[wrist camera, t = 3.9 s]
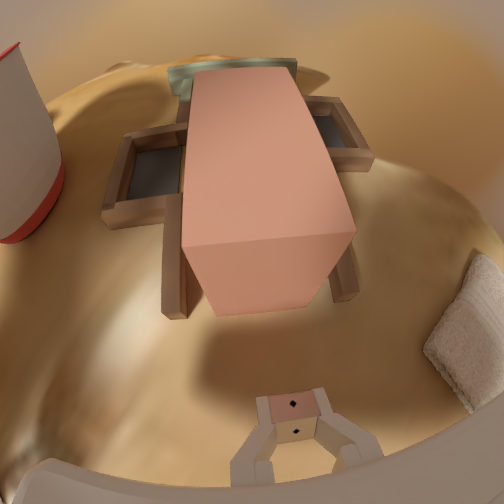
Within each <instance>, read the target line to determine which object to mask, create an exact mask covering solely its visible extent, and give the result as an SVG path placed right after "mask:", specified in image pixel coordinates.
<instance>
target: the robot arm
mask: <svg viewBox="0 0 504 504" xmlns="http://www.w3.org/2000/svg"><path fill="white" fill-rule="evenodd" d="M256 405H257V414H258V422H259V426H255V428H254V429H253V431H252V432H251V433H250V435H249V436H248V438H247V439H246V441H245V442H244V444H243V445H242V446H241V448H240V449H239V451H238V452H237V453H236V455H235V456H234V458H233V459H232V460H231V462H230V478H231V487H189V486H175V485H165V484H156V483H149V482H142V481H136V480H130V479H125V478H120V477H116V476H111V475H107V474H103V473H99V472H95V471H92V470H88V469H85V468H81V467H78V466H75V465H72V464H69V463H66V462H63V461H61V460H58V459H55V458H49V459H46V460H44V461H42V462H40V463H38V464H37V465H35V466H33V467H32V468H30V469H29V470H28V471H27V472H26V473H25V475H24V476H23V478H22V480H21V482H20V484H19V487H18V489H17V491H16V494H15V497H14V499H13V502H12V504H504V391H503V392H501V393H500V394H499V395H497V396H496V397H495V398H493V399H492V400H491V401H489V402H488V403H486V404H485V405H483V406H482V407H481V408H479V409H478V410H476V411H475V412H473V413H471V414H470V415H468V416H467V417H465V418H463V419H462V420H460V421H459V422H457V423H455V424H453V425H452V426H450V427H448V428H446V429H444V430H443V431H441V432H439V433H437V434H435V435H433V436H431V437H429V438H427V439H425V440H423V441H421V442H419V443H417V444H414V445H412V446H410V447H408V448H405V449H403V450H401V451H398V452H396V453H393V454H391V455H388V456H384V454H383V452H382V450H381V448H380V445H379V443H378V441H377V439H376V437H375V436H374V435H373V434H371V433H369V432H368V431H366V430H364V429H363V428H361V427H359V426H358V425H356V424H354V423H353V422H351V421H349V420H348V419H346V418H345V417H343V416H342V415H340V414H338V413H334V412H333V410H332V407H331V405H330V402H329V399H328V397H327V394H326V392H325V389H324V388H323V387H320V388H315V389H309V390H304V391H298V392H292V393H288V394H279V395H270V396H260V397H256ZM313 438H314V439H315V440H316V441H317V442H318V443H319V444H321V445H322V446H323V447H324V448H325V449H326V450H328V451H329V452H330V453H331V454H332V455H334V456H335V457H336V458H337V459H336V462H335V464H334V467H333V469H332V473H330V474H326V475H322V476H317V477H312V478H307V479H302V480H296V481H290V482H283V483H275V478H274V472H273V466H272V462H271V461H269V459H270V458H271V456H272V454H273V452H274V450H275V448H276V446H277V444H283V443H289V442H294V441H301V440H307V439H313ZM0 504H3V502H2V500H1V498H0Z"/></svg>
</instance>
